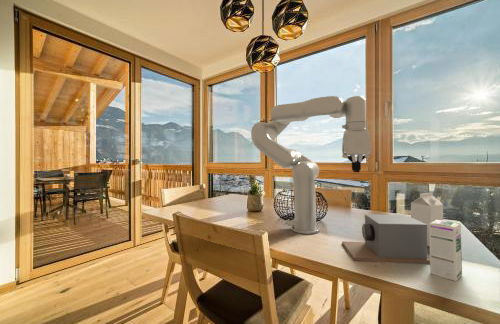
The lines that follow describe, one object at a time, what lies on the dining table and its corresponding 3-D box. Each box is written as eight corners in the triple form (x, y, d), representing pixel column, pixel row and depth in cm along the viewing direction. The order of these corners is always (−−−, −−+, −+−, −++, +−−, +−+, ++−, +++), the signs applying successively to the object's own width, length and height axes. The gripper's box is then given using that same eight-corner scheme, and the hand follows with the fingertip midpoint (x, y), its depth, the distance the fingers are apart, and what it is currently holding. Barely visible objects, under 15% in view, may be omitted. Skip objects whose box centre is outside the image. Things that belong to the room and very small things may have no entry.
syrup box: (456, 282, 58) (456, 227, 58) (429, 273, 63) (428, 222, 63) (462, 275, 62) (462, 223, 62) (435, 267, 67) (435, 218, 66)
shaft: (368, 243, 75) (367, 226, 75) (362, 237, 80) (361, 221, 80) (427, 245, 72) (427, 227, 72) (417, 238, 78) (416, 222, 78)
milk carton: (410, 240, 87) (410, 192, 87) (422, 238, 90) (422, 191, 89) (431, 247, 81) (430, 195, 80) (443, 244, 83) (443, 193, 83)
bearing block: (354, 260, 72) (353, 224, 71) (342, 243, 85) (341, 213, 85) (432, 263, 68) (432, 225, 68) (407, 245, 82) (406, 214, 82)
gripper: (339, 126, 89) (339, 172, 89) (379, 125, 87) (379, 172, 87) (334, 129, 96) (335, 171, 97) (371, 128, 94) (371, 171, 95)
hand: (356, 171), depth 92 cm, fingers closed
